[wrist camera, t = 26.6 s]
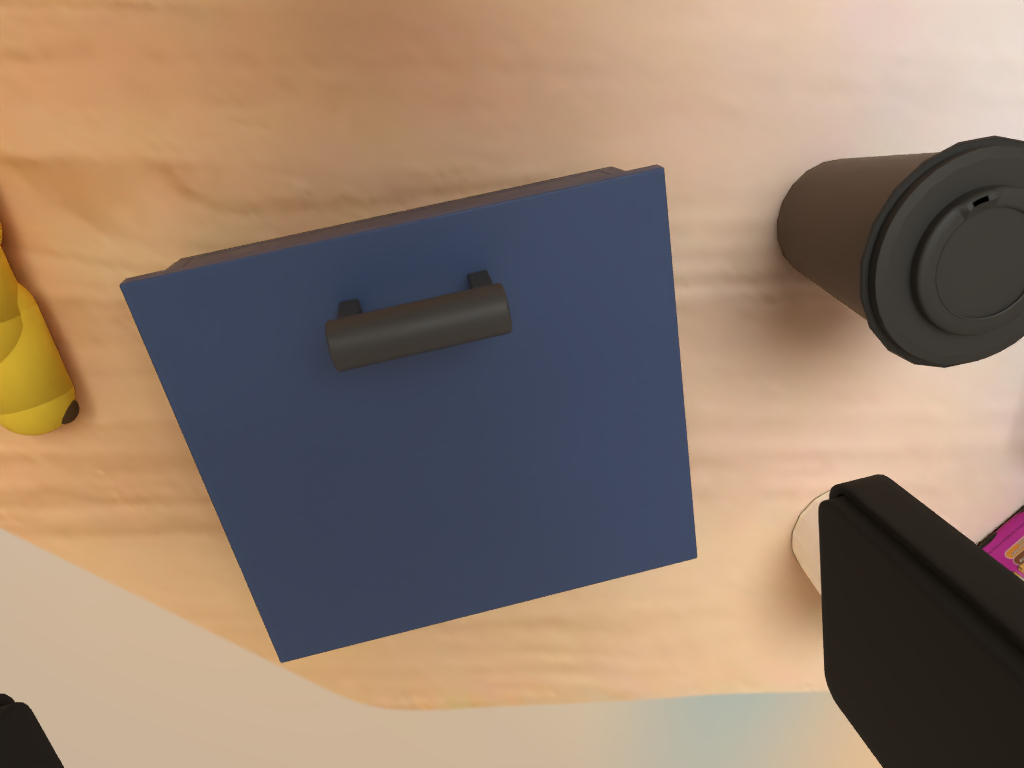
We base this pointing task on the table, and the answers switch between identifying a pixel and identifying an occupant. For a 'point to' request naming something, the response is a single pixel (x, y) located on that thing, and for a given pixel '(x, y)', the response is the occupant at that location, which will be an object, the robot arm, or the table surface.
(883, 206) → the coffee cup
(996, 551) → the candy bar box
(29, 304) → the yellow lobed rod
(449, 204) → the blue shallow open box
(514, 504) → the lid
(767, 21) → the table surface
